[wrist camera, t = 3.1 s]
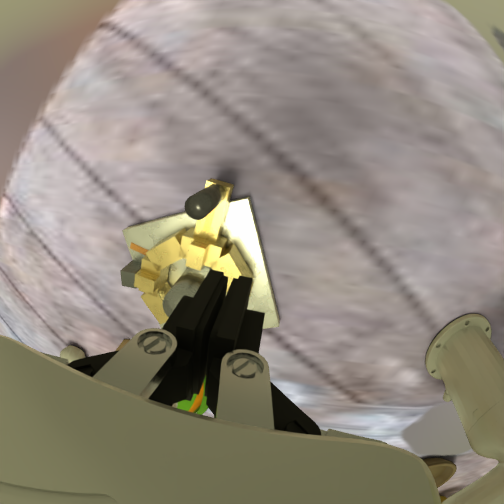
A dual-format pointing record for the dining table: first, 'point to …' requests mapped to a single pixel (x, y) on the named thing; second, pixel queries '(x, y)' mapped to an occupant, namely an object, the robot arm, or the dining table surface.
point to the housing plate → (189, 280)
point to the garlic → (72, 353)
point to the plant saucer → (440, 469)
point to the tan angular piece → (192, 247)
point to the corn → (195, 402)
